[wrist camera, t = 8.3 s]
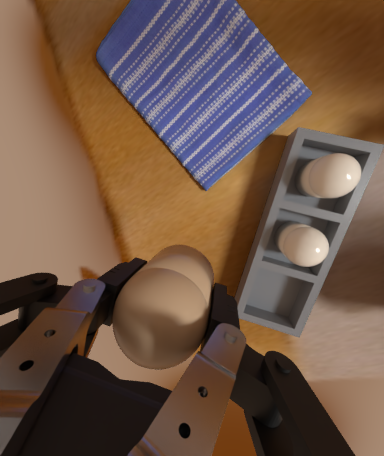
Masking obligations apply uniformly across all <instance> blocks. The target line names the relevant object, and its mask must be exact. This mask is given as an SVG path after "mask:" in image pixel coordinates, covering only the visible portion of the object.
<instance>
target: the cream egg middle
mask: <svg viewBox="0 0 384 456" xmlns="http://www.w3.org/2000/svg"><path fill="white" fill-rule="evenodd" d="M274 241H275V245H276V246H277V248H278V249H279V250H280V251H281V252H282V253H283V254H284V255H285V256H286V257H287V258H288V259H289V260H290V261H291V262H292V263H294V264H296V265H299V266H304V267H310V266H315V265H317V264H319V263H321V262H322V261H323V260H324V259H325V258H326V257H327V255H328V252H329V243H328V240H327V238H326V237H325V235H324V234H323V233H322V232H320V231H319V230H317V229H315V228H313V227H310V226H308V225H305V224H303V223H300V222H296V221H290V222H286V223H284V224H282V225H281V226H280V227H279V228H278V229H277V231H276V233H275V236H274Z"/></svg>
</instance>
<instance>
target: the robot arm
mask: <svg viewBox="0 0 384 456" xmlns="http://www.w3.org/2000/svg"><path fill="white" fill-rule="evenodd" d="M146 264H147V261H146V260H143V259H139V258H134V259H133V260H132V261H130V262H129V263H127V262H124V263H121V264H118V265H117V266H115V267H114V268H112V269H111V270H109V271H108V272H106V273H105V274H104V275H102V276H101V277H99V278H98V279H84V280H81V281H78V282H77V283H75V284H74V286H64V285H57V281H58V278H57V277H56V276H55V275H54V274H51V273H35V274H30V275H27V276H24V277H20V278H16V279H12V280H9V281H5V282H2V283H0V315H2V314H5V313H8V312H10V311H13V310H15V309H17V308H19V315H18V319H16V320H14V321H12V322H9V323H7V324H5V325H2V326H0V456H211V455H212V452H213V449H214V446H215V442H216V439H217V436H218V433H219V430H220V426H221V423H222V420H223V417H224V414H225V411H226V407H227V405H228V401H229V398H230V399H231V400H232V401H234V402H235V403H236V404H238V405H239V406H240V407H242V408H243V409H244V413H245V418H246V421H247V424H248V428H249V431H250V434H251V437H252V441H253V444H254V447H255V451H256V454H257V456H355V454H354V453H353V451H352V450H351V448H350V447H349V445H348V444H347V442H346V441H345V439H344V438H343V436H342V435H341V433H340V432H339V430H338V429H337V427H336V425H335V424H334V423H333V421H332V419H331V418H330V416H329V415H328V413H327V412H326V410H325V409H324V407H323V406H322V404H321V403H320V402H319V400H318V398H317V397H316V395H315V394H314V392H313V391H312V389H311V387H310V386H309V384H308V383H307V381H306V380H305V378H304V377H303V375H302V374H301V372H300V371H299V369H298V368H297V366H296V365H295V364H294V363H293V362H292V361H291V360H290V359H289V358H288V357H286V356H285V355H283V354H281V353H279V352H276V351H268V352H267V353H266V354H265V356H263V355H261V354H260V353H258V352H256V351H255V350H253V349H252V348H251V347H249V346H248V345H247V344H246V338H245V336H244V334H243V333H242V332H241V331H240V325H239V316H238V307H237V302H236V300H235V299H234V297H233V296H230V295H227V286H225V285H222V284H218V283H215V284H214V287H213V292H212V300H211V308H210V316H209V323H208V328H207V331H206V334H205V337H204V339H203V341H202V343H201V349H200V351H198V352H197V354H196V355H195V357H194V358H193V360H192V362H191V363H190V364H189V366H188V368H187V369H186V371H185V372H184V374H183V375H182V377H181V378H180V380H179V382H178V383H177V385H176V386H175V388H174V389H173V391H171V390H168V389H165V388H163V387H160V386H158V385H155V384H153V383H149V382H139V381H129V380H121V379H119V378H117V377H116V376H115V375H113V374H112V373H111V372H110V371H108V370H107V369H106V368H105V367H104V366H102V365H101V364H100V363H98V362H96V361H94V360H91V359H89V358H88V355H89V353H90V351H91V348H92V346H93V343H94V341H95V339H96V336H97V333H98V329H99V327H100V326H101V325H102V324H105V325H108V326H110V325H111V324H112V317H113V309H114V305H115V302H116V299H117V297H118V294H119V293H120V291H121V289H122V288H123V286H124V285H125V284H126V283H127V281H128V280H129V279H130V278H131V277H132V276H133V275H135V274H136V273H137V272H138V271H139V270H140V269H141V268H142V267H143V266H144V265H146Z"/></svg>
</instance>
